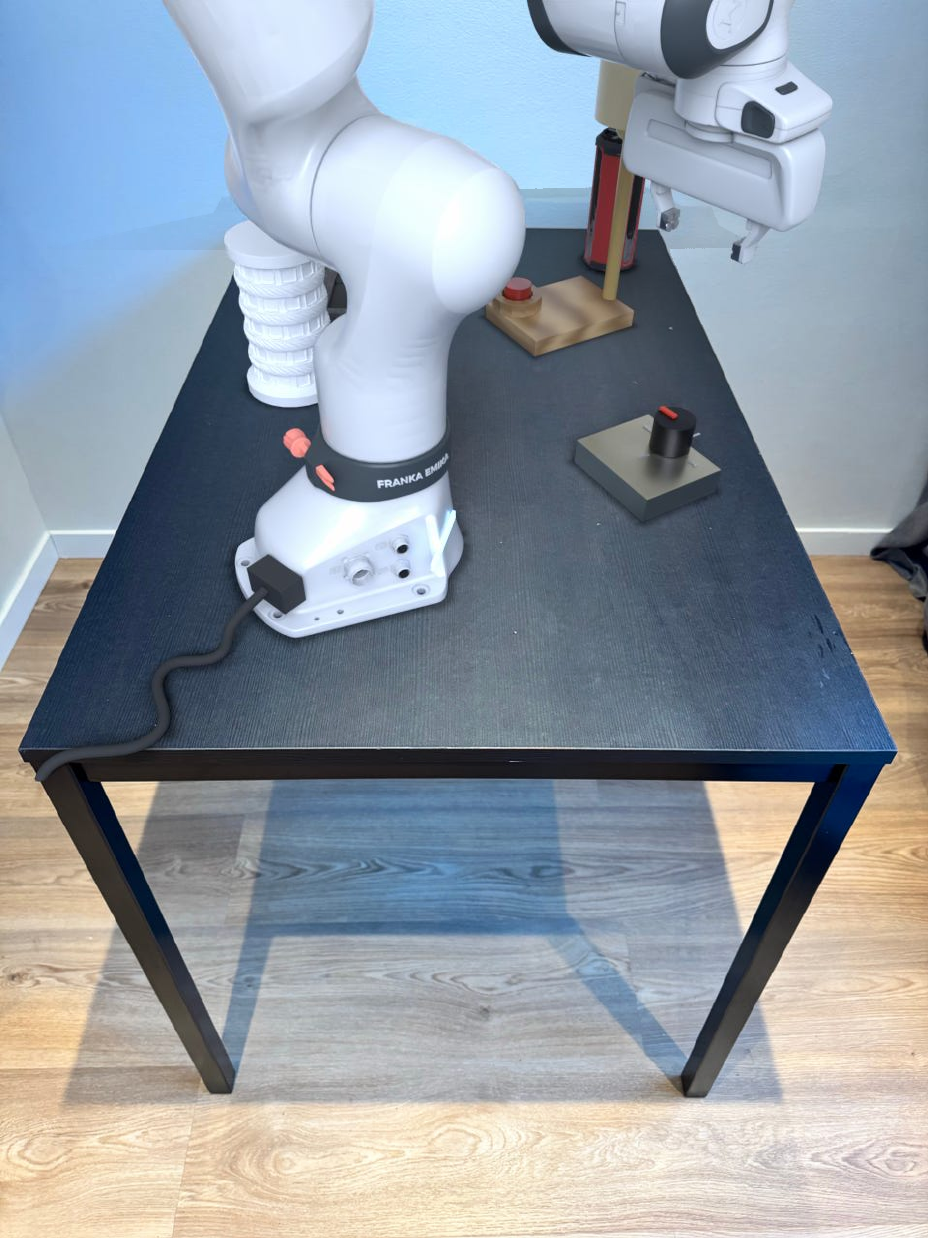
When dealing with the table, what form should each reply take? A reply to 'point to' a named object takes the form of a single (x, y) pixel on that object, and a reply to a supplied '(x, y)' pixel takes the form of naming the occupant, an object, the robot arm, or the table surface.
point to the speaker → (610, 204)
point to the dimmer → (644, 470)
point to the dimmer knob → (672, 432)
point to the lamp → (614, 113)
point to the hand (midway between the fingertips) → (703, 243)
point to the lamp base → (558, 315)
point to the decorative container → (278, 315)
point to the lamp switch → (518, 289)
